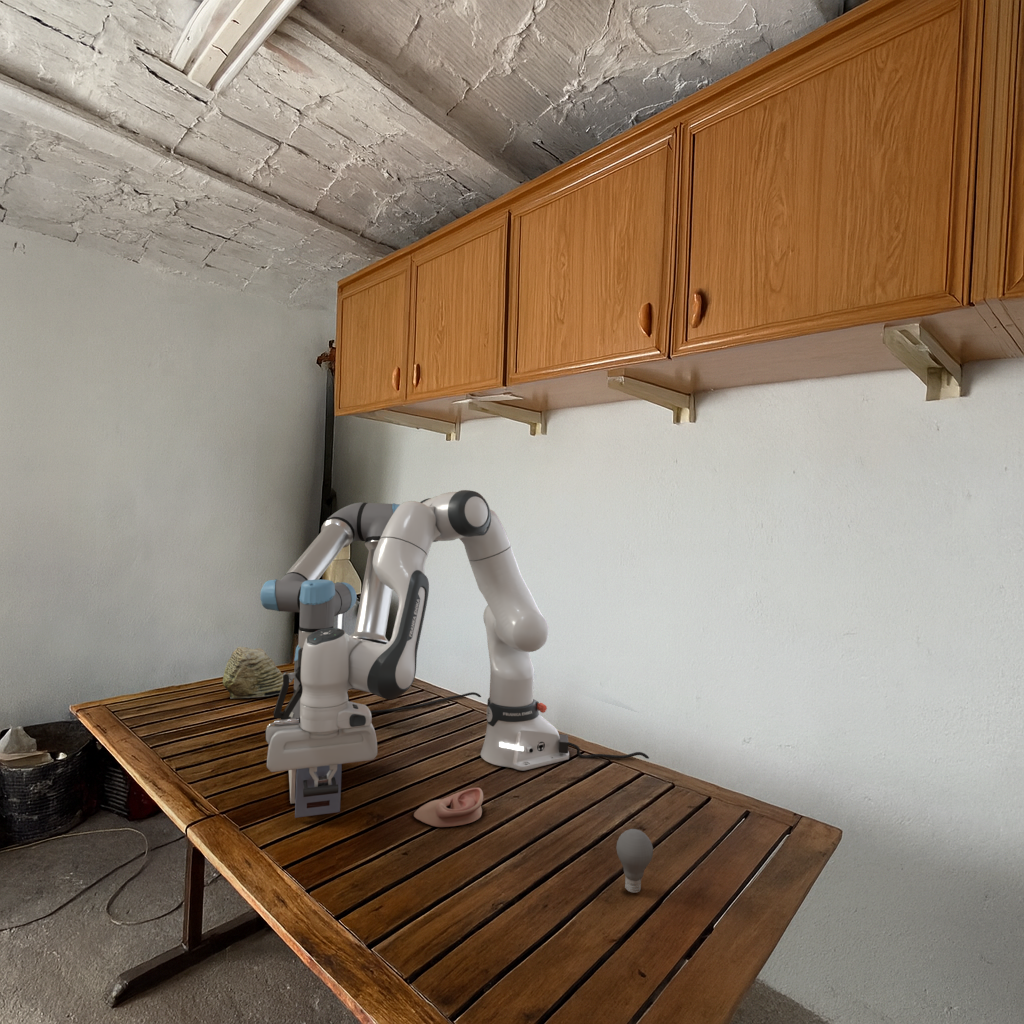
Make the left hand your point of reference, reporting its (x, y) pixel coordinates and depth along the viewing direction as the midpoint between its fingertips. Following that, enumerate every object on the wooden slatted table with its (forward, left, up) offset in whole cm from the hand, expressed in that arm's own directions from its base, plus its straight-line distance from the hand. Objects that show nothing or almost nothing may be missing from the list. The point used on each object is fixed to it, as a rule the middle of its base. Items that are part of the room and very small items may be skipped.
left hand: (311, 744), depth 145 cm
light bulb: (-11, +77, -6) cm, 78 cm away
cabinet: (+3, +5, -6) cm, 8 cm away
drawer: (+9, +15, -5) cm, 18 cm away
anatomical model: (-8, +37, -6) cm, 38 cm away
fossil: (-20, -60, -6) cm, 63 cm away
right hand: (+13, +22, +2) cm, 26 cm away
